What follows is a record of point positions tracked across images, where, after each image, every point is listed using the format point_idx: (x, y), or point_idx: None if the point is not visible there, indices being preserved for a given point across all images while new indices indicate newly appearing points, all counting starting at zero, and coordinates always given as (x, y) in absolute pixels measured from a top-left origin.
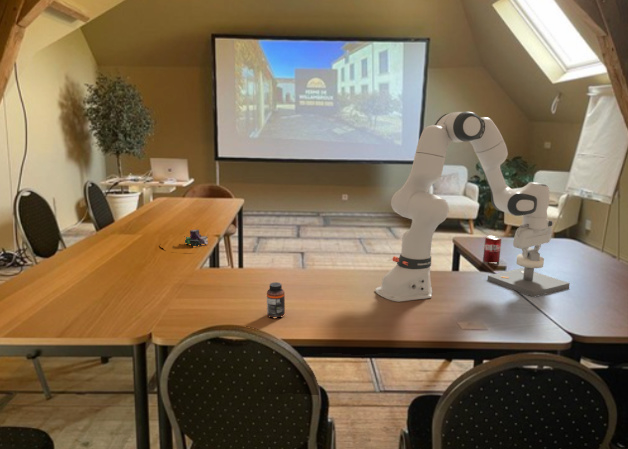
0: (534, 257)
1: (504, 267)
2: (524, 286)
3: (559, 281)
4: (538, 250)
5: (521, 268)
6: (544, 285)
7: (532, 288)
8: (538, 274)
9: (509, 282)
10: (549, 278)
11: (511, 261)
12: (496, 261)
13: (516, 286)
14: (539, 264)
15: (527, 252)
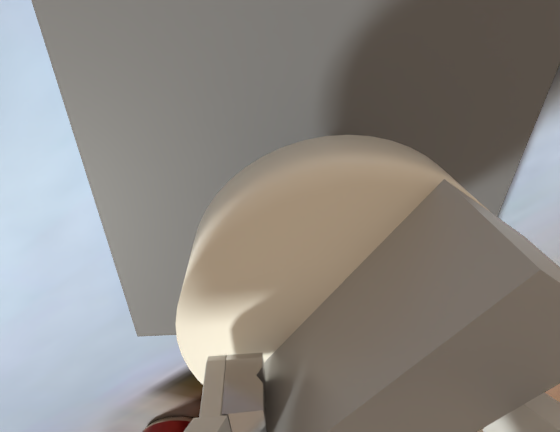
0: (542, 256)
1: (176, 381)
2: (506, 85)
3: (87, 9)
4: (198, 423)
5: (151, 333)
6: (338, 7)
7: (512, 10)
8: (132, 223)
9: (492, 197)
10: (120, 120)
11: (64, 419)
12: (178, 429)
13: (529, 126)
14: (393, 156)
15: (543, 404)
